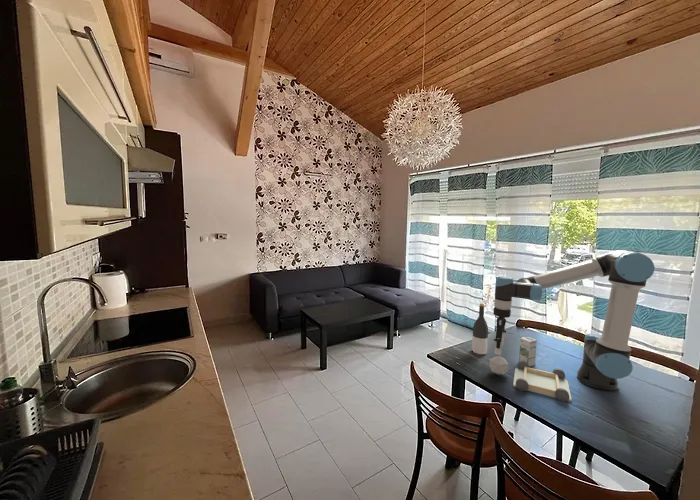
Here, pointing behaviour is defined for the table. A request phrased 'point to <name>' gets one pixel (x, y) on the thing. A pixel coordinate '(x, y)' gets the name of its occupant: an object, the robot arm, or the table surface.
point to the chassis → (542, 382)
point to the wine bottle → (480, 333)
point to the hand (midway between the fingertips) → (499, 349)
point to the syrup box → (528, 350)
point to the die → (499, 365)
